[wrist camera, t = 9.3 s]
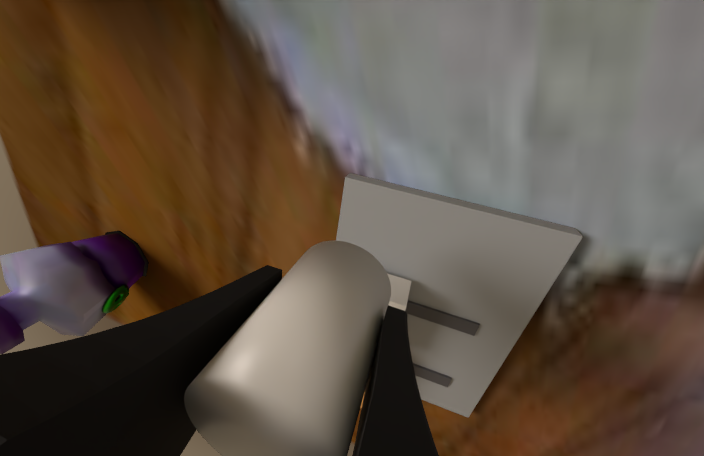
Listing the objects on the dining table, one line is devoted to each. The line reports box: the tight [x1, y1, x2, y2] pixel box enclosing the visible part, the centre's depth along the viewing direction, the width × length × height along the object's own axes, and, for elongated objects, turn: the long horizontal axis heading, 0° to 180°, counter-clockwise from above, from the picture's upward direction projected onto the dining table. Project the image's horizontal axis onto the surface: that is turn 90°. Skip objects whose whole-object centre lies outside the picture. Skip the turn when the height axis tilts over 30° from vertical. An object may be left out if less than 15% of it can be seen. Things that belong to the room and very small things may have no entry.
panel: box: [336, 173, 583, 417], centre depth 20 cm, size 13×17×1 cm
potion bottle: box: [0, 231, 148, 354], centre depth 24 cm, size 9×9×12 cm
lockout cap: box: [184, 241, 391, 456], centre depth 9 cm, size 4×4×6 cm
